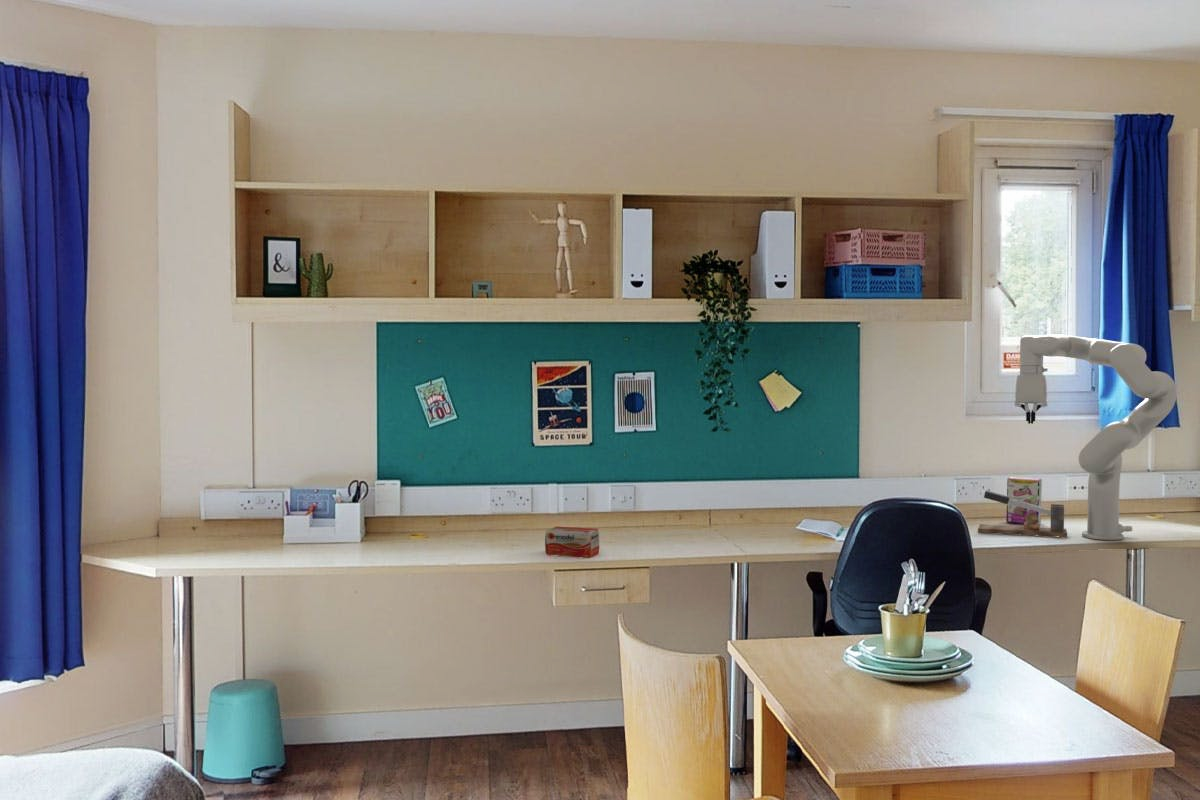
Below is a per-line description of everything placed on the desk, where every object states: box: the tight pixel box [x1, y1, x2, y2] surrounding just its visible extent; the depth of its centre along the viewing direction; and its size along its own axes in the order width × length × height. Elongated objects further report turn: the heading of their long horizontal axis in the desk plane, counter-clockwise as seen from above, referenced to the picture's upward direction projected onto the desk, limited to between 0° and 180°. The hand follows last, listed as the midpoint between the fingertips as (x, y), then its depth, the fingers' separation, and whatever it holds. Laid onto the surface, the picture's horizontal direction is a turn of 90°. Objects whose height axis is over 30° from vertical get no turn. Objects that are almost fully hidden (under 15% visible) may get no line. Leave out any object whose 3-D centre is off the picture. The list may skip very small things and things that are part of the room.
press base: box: [977, 503, 1068, 538], centre depth 370 cm, size 28×10×10 cm, turn 68°
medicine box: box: [544, 526, 600, 559], centre depth 334 cm, size 15×8×8 cm, turn 70°
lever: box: [983, 490, 1051, 516], centre depth 369 cm, size 25×4×2 cm, turn 69°
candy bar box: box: [1005, 476, 1043, 525], centre depth 390 cm, size 11×5×16 cm, turn 58°
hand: (1030, 423), depth 377 cm, fingers closed
